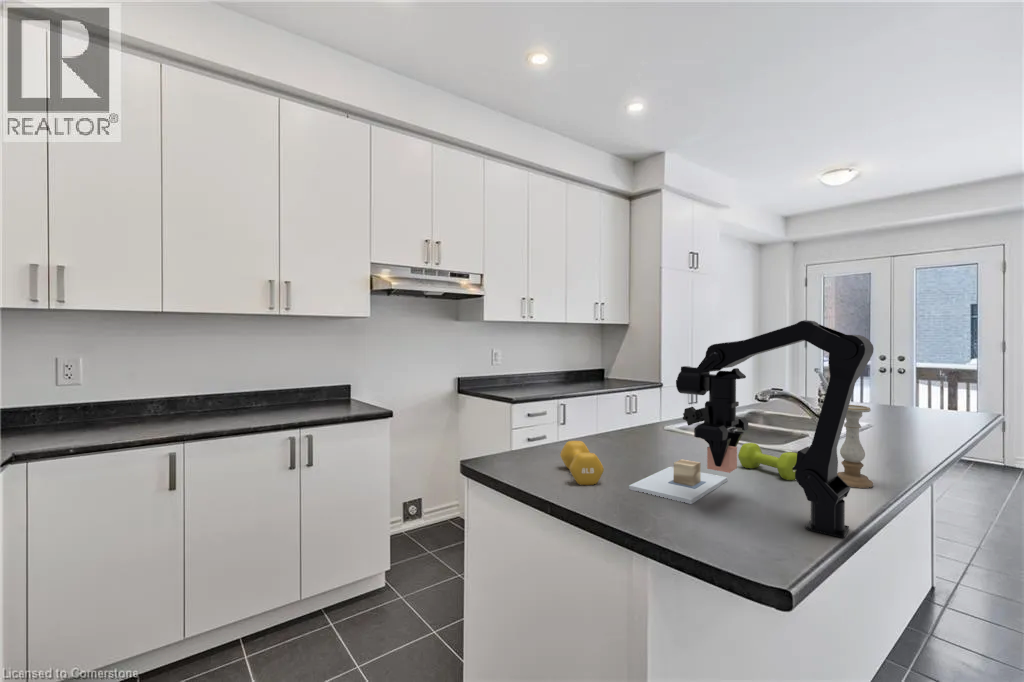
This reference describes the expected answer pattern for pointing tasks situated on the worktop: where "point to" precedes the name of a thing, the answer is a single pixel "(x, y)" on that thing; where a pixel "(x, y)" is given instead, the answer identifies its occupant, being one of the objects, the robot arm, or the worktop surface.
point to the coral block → (728, 461)
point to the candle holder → (853, 450)
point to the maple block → (687, 472)
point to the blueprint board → (677, 486)
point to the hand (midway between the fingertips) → (722, 463)
